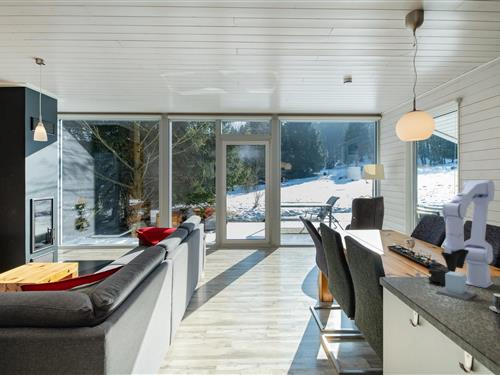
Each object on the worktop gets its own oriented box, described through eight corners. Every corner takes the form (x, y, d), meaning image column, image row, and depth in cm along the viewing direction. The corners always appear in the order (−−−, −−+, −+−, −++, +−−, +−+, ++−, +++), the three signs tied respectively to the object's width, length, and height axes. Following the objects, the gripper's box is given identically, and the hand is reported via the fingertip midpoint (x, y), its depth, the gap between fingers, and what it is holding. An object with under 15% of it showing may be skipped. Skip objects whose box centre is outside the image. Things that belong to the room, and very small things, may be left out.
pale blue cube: (451, 288, 120) (450, 271, 120) (466, 291, 116) (465, 274, 116) (445, 290, 117) (445, 273, 117) (461, 294, 113) (460, 276, 113)
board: (446, 288, 124) (446, 285, 124) (476, 294, 116) (476, 291, 116) (436, 293, 118) (436, 290, 118) (466, 300, 110) (466, 297, 110)
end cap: (448, 287, 125) (448, 270, 125) (428, 284, 129) (428, 268, 129) (450, 281, 133) (449, 265, 133) (431, 278, 137) (431, 263, 137)
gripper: (450, 231, 125) (451, 264, 124) (435, 234, 116) (436, 270, 116) (470, 233, 119) (471, 268, 119) (456, 236, 110) (457, 274, 110)
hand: (455, 269), depth 117 cm, fingers open, 7 cm apart
